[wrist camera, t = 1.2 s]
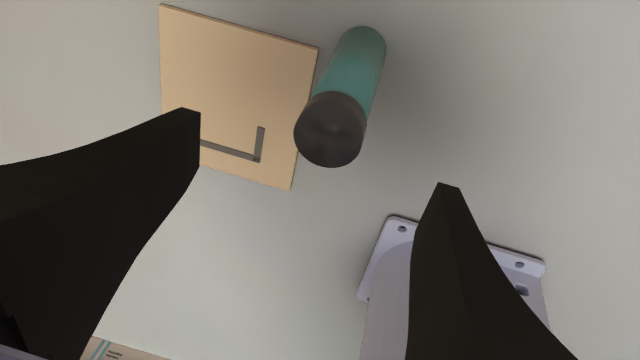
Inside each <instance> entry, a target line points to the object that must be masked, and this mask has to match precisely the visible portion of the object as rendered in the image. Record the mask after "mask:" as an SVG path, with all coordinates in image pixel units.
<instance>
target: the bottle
mask: <svg viewBox="0 0 640 360" xmlns="http://www.w3.org/2000/svg"><path fill="white" fill-rule="evenodd" d="M385 54H386V46H385V42H384V40H383V38H382V36H381V35H380V34H379V33H378V32H377V31H376V30H374V29H372V28H370V27H366V26H358V27H354V28H352V29H350V30H348V31H347V32H346V33H345V34H344V35H343V37H342V38H341V40H340V42H339V44H338V46H337V48H336V50H335V52H334V54H333V56H332V58H331V60H330V62H329V63H328V65H327V67H326V69H325V71H324V73H323V75H322V77H321V79H320V81H319V83H318V85H317V87H316V88H315V90H314V92H313V94H312V96H311V98H310V99H309V101H308V102H307V103H306V105H305V106H304V108H303V110H302V112H301V114H300V116H299V118H298V120H297V122H296V124H295V126H294V131H293V137H294V142H295V145H296V147H297V149H298V150H299V152H300V153H301V154H302V155H303V156H304V157H305V158H306V159H307V160H309V161H310V162H312V163H314V164H316V165H319V166H322V167H327V168H336V167H341V166H344V165H347V164H349V163H350V162H352V161H353V160H354V159H355V158H356V157H357V155H358V154H359V152H360V149H361V146H362V142H363V138H364V135H365V131H366V127H367V119H368V115H369V112H370V108H371V104H372V101H373V97H374V94H375V90H376V87H377V83H378V79H379V76H380V72H381V69H382V65H383V62H384V58H385Z"/></svg>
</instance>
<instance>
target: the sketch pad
mask: <svg viewBox="0 0 640 360" xmlns="http://www.w3.org/2000/svg"><path fill="white" fill-rule="evenodd" d="M158 12H159V42H160V72H161V103H162V114H165V113H167V112H169V111H172V110H174V109H177V108H180V107H184V108H187V109H191V110H194V111H198V112H201V129H200V165H203V166H206V167H210V168H213V169H216V170H220V171H223V172H226V173H229V174H233V175H236V176H239V177H243V178H246V179H249V180H253V181H256V182H259V183H263V184H266V185H269V186H272V187H276V188H279V189H282V190H286V191H290V188H291V184H292V179H293V174H294V169H295V164H296V159H297V154H298V149H297V147H296V145H295V142H294V137H293V131H294V126H295V124H296V122H297V120H298V118H299V116H300V114H301V112H302V110H303V108H304V106H305V105H306V103H307V102H308V101H309V96H310V91H311V86H312V81H313V76H314V71H315V66H316V61H317V57H318V52H319V48H316V47H313V46H309V45H306V44H302V43H299V42H295V41H292V40H288V39H285V38H281V37H278V36H274V35H270V34H267V33H263V32H260V31H256V30H253V29H249V28H246V27H242V26H239V25H235V24H232V23H228V22H225V21H221V20H218V19H214V18H211V17H207V16H204V15H200V14H197V13H193V12H190V11H186V10H183V9H179V8H176V7H172V6H169V5H165V4H162V3H161V4H160V5H158Z"/></svg>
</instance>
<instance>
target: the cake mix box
mask: <svg viewBox="0 0 640 360" xmlns="http://www.w3.org/2000/svg"><path fill="white" fill-rule="evenodd" d="M99 358H101V359H106V360H169V359H166V358H163V357H160V356H156V355H153V354H150V353H146V352H143V351H140V350H136V349H133V348H130V347H126V346H123V345H120V344H116V343H113V342H110V341H107V340H103V339H100V338H97V337H93V336H91V338H90V340H89V342H88V344H87V346H86V348H85V350H84V352H83V354H82V356H81V358H80V360H95V359H99Z"/></svg>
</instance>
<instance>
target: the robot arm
mask: <svg viewBox="0 0 640 360" xmlns="http://www.w3.org/2000/svg"><path fill="white" fill-rule="evenodd" d="M200 129H201V112H198V111H194V110H191V109H187V108H184V107H180V108H177V109H174V110H172V111H169V112H167V113H165V114H162V115H160V116H158V117H156V118H153V119H151V120H149V121H147V122H144V123H142V124H139V125H137V126H135V127H132V128H130V129H128V130H125V131H123V132H120V133H118V134H115V135H112V136H110V137H107V138H104V139H102V140H99V141H96V142H93V143H91V144H88V145H85V146H81V147H78V148H75V149H72V150H68V151H64V152H61V153H57V154H53V155H49V156H45V157H40V158H36V159H31V160H26V161H21V162H17V163H12V164H6V165H0V360H80V358H81V356H82V354H83V352H84V350H85V348H86V346H87V344H88V342H89V340H90V338H91V336H92V334H93V332H94V331H95V329H96V327H97V325H98V323H99V321H100V319H101V317H102V316H103V314H104V312H105V310H106V308H107V306H108V305H109V303H110V301H111V299H112V298H113V296H114V294H115V292H116V291H117V289H118V287H119V285H120V284H121V282H122V280H123V279H124V277H125V275H126V274H127V272H128V270H129V269H130V267H131V265H132V264H133V262H134V260H135V259H136V257H137V256H138V254H139V253H140V251H141V250H142V249H143V247H144V246H145V244H146V243H147V242H148V240H149V239H150V238H151V236H152V235H153V234H154V233H155V231H156V230H157V229H158V227H159V226H160V225H161V223H162V222H163V221H164V220H165V218H166V217H167V216H168V214H169V213H170V212H171V211H172V209H173V208H174V207H175V205H176V204H177V203H178V201H179V200H180V199H181V197H182V196H183V195H184V193H185V192H186V190H187V188H188V186H189V185H190V183H191V181H192V179H193V178H194V176H195V174H196V172H197V170H198V168H199V165H200ZM399 226H404V227H405V228H401V227H399ZM516 262H521V263H516ZM545 271H546V267H545V263H544V262H543V261H541V260H538V259H535V258H532V257H528V256H525V255H522V254H519V253H515V252H512V251H509V250H505V249H502V248H499V247H495V246H492V245H489V244H486V242H485V240H484V238H483V236H482V234H481V232H480V231H479V229H478V227H477V225H476V223H475V221H474V218H473V216H472V214H471V212H470V210H469V208H468V206H467V204H466V202H465V199H464V197H463V195H462V193H461V191H460V189H459V188H457V187H454V186H450V185H447V184H443V183H440V182H438V183H437V186H436V188H435V190H434V192H433V194H432V196H431V198H430V200H429V202H428V205H427V207H426V209H425V211H424V213H423V215H422V217H421V219H420V222H419V223H416V222H412V221H409V220H406V219H402V218H399V217H395V216H392V217H389V218H388V219H387V220H386V222H385V224H384V227H383V229H382V232H381V234H380V237H379V239H378V241H377V244H376V246H375V249H374V251H373V254H372V256H371V259H370V261H369V263H368V266H367V268H366V271H365V273H364V276H363V278H362V281H361V283H360V285H359V288H358V290H357V295H356V297H357V298H358V299H359V300H360V301H363V302H366V303H369V304H368V310H367V316H366V322H365V328H364V334H363V340H362V346H361V352H360V358H359V360H578V359H577V358H576V357H575V356H574V355H573V354H572V353H571V352H570V351H569V350H568V349H567V348H566V347H565V346H564V345H563V344H562V343H561V342H560V341H559V340H558V339H557V338H556V337H555V336H554V335H553V334H552V333H551V331H550V326H549V321H548V317H547V312H546V307H545V302H544V298H543V293H542V288H541V283H540V277H541V276H542V275H543V274H544V272H545ZM95 360H106V359H101V358H99V359H95Z"/></svg>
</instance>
